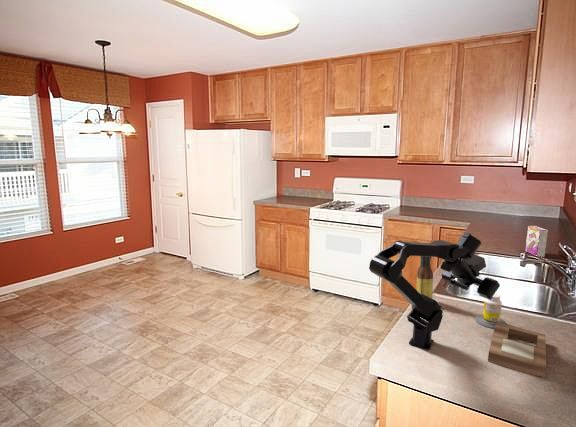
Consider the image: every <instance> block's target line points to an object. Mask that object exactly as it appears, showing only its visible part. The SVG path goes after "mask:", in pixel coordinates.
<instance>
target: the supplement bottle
mask: <svg viewBox="0 0 576 427" xmlns="http://www.w3.org/2000/svg"><path fill="white" fill-rule="evenodd" d="M502 305H503V301H502V300H501V295H500V294H498V293H497V292H495V294H494V295H493V297H492V299H491V300H489V299H487V298H484V300H483V308H482V315H483V320H484V321H485V322H487V323H490V324H496V323H499V322H500V319H501V314H502V307H503V306H502Z"/></svg>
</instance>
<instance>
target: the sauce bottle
mask: <svg viewBox="0 0 576 427" xmlns="http://www.w3.org/2000/svg"><path fill="white" fill-rule="evenodd" d="M419 257H420V263H419V266H418V268H417V271H416V273H417V276H416V290H417V291H418V292H419V293H420V294H421V293H422V294H424V295H426V296H428V297H430V298H432V299H433V295H434V294H433V292H434V290H433V289H434V288H433V287H434V273H433V270H432V268H431V260H432V257H428V256H419Z"/></svg>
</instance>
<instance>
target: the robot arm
mask: <svg viewBox="0 0 576 427" xmlns="http://www.w3.org/2000/svg"><path fill="white" fill-rule="evenodd" d="M481 245H482V241H481V240H480V239H478V237H475V236H474V235H472V233H469V232H464V233H463V235H462V237H461V238H460V239H459V240H458V242H457V243H453V242H449V241H445V240H443V239H439V240H438V239H435V240H433V241H432V242H418V241H405V240H401V239H400V240H396V241H394V242H393V243H392V244H391V245H390V246H388V247H386V248H383V249H382V250H380V251H379V252H377V253H376V255H374V256H373V257H372V258H371V260H370V262H369V266H368V268H369V271H370V273H372V274H374V275H376V276H377V277H379V278H381V279H383V280H384V281H385V282H388V283H389V285H391V286H392V287H393V288H394V289H395V290H396V291H397V292H398V293H399V294H400V295H401V296H402V297H403V298H404V299H405V300H406V301H407V302H408V303H409V304H410V305H411V310H410V312H409V313H408V314H407V316H406V318H407V322H409V323H411V324H413V328H412V337H411V338H410V340H409V341H408V344H409V345H411V346H414V347H418V348H421V349H424V350H427V351H430V350H431V348H432V346H433V345H434V343H435V340H434V339H432V334H433V332H435V331H438V330H439V328H440V326H441V323H442V320H443V317H444V316H443V313H444V312H443V309H442V308H443V306H442V305H440V304H439V303H438V301H437V300H436V299H434V298H433V297H432V298H430V297H428V296H426V295H424V294H422V293H421V294H420V293H419V292H418V291H417V288H415V287H414V286H413V285H412V284H411V283H410V282H409V281H408V280H407V279H406V278H405V277H404V276H403V270H404V268H405V267H406V265H407V260H408V258H410V257H420V256H428V257H431V258H432V257H434V258H437V259H441V260H443V261H442V262H441V264H440V270H442V273H441V278H442V280H443V281H444V282H446V283H448V284H451V285H453V286H456V287H458V288H460V289H463V290H465V291H468V290H469V288H470V286H472V285H474V286H478V287H477V289H476V293H477V294H478V295H479V296H480V297H483V298H484V299H485V298H487V299H489V300H491V299H492V297H493V295H494V294H495V293H497V291H498V289H499V288H500V287H501V285H500V283H499V281H498V280H496V279H493V278H492V277H488V276H487V277H484V279H482V278H480V275H481V273H480V272H481V271H482V270H483V269H485V268H487V263H486V258H485V257H483V256H481V255H476V252H477V251H478V250H479V248H480V247H481ZM397 255H398V258H397V259H396V260H392V259H391V258H393V257H395V256H397Z"/></svg>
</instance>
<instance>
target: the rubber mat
mask: <svg viewBox="0 0 576 427" xmlns="http://www.w3.org/2000/svg"><path fill="white" fill-rule="evenodd" d="M474 319H475V322H476V323H478V324H479V325H480V326H482V327H484V328H489V329H493V330H494V329H495V325H496V324H490V323H487V322H485V321H484V320H483V314H477V315H476V316H475V318H474ZM499 324H504V325H508V324H507V322H506V321H505V320H504V319H502V318H500V322H499Z"/></svg>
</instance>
